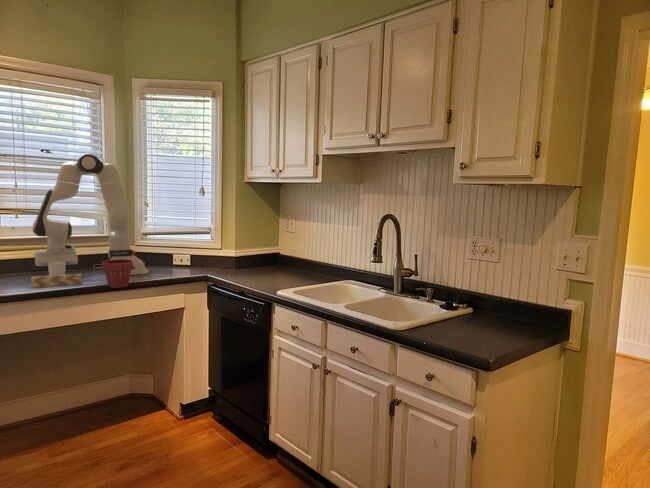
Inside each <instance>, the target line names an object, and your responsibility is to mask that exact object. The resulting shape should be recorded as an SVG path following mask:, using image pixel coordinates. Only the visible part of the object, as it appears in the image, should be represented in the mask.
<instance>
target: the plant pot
mask: <svg viewBox="0 0 650 488" xmlns="http://www.w3.org/2000/svg"><path fill="white" fill-rule="evenodd" d="M101 267H102V271H104V274H105V279H106V281H107V284H108V287H109V288H111V289H112V288H116V289H119V288H124V287H127V286H129V283H130V282H129V281H130V277H131V275H130V273H131V269H132V268H133V261H132V260H127V259H116V260H109V259H108V260H104V261H102V262H101Z"/></svg>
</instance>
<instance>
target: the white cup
mask: <svg viewBox="0 0 650 488" xmlns="http://www.w3.org/2000/svg"><path fill="white" fill-rule="evenodd" d="M47 267H48V268H47V269H48V276H55V275H66V265H65V262H60V261H59V262H49V263H48V266H47Z"/></svg>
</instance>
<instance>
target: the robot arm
mask: <svg viewBox="0 0 650 488" xmlns="http://www.w3.org/2000/svg"><path fill="white" fill-rule="evenodd" d="M92 174H94V175H95V176H96V177H97V179H98V182H99V186H100V190H101V194H102V197H103V198H102V199H103V200H104V203H105V208H106V211H107V227H108V239H109V241H108V245H109V249H108V260H116V259H127V260H132V261H133V268H132V269H131V273H130V276H132V275H133V276H134V275H143V274H148V273H149V272H150V271H149V269H147V268H146V267H145V263H144V261H142V260H141V259H140V258H138V257H137V256H136V255H135V254H136V250H134V249H132V248H131V235H130V227H129V225H130V221H131V218H132V217H131V216H132V215H131V212H130V209H129V205H128V202H127V199H126V196H125V193H124V188H123V185H122V181H121V178H120V175H119V172H118V169H117V168H116V166H115V165H114V164H112V163H110V162H109V163H108V162H106V163H103V162H102V161H101V160H100V158H98V156H96V155H95V154H93V153H89V152H88V153H86V152H85V153H82V154H81V155H80V156H79V157H78V158H77V161H76V162H70V161H67V162H64V163H62V164H61V166H60V168H59V171H58V174H57V179H56V183H55V185H54V186H53V187H52V188H49V190H48V191H47V192H46V193H45V196H44V199H43V201H42V203H41V206H40V208H39V211H38V214H37V216H36V218H35V220H34V222H33V223H32V232H33V234H34V235H36V236H37V237H46V241H47V246H46V250H38V251H35V252H34V264H35V266H36V267H46V266H47V267H48V263H49V262H59V261H60V262H65V266H71V265H72V266H73V265H78V263H79V259H78V254H77V251H76V249H75V246H74V245H71V244H70V245H68V244H66V241H68V240H69V239H71V236H72V233H73V232H72V231H73V226H72V224H71V223H70V222H69V221H67V220H61V219H60V220H59V219H52V218H51V219H50V218H48V215H49V212H50V209H51V207H52V204H54V203H56V202H58V201H63V200H68V199H71V198H74V197H75V196H76V195H77V194H78V192H79V189H80V184H81V178H82V176H83V175H92Z"/></svg>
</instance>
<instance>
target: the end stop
mask: <svg viewBox="0 0 650 488" xmlns="http://www.w3.org/2000/svg"><path fill="white" fill-rule="evenodd" d="M82 274H83V273H77V274H74V273H73V274H65V275H55V276H49V275H39V276H31V277H30V281H31V283H30V284H31V285H30V286H31V289H32V288H35V289H36V288H45V287H47V288H48V287H61V286H76V285H77V286H78V285H83V278H82V277H83V275H82Z"/></svg>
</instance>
